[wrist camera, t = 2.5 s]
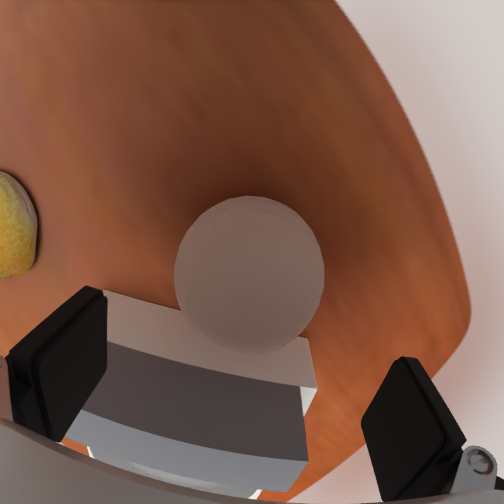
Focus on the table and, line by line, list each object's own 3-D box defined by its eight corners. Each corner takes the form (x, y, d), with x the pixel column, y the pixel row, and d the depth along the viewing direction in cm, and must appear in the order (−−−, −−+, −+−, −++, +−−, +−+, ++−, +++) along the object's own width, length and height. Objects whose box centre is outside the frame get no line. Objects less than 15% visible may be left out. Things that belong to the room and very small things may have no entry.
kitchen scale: (103, 289, 20) (19, 380, 11) (307, 338, 21) (330, 462, 11) (111, 437, 26) (77, 515, 16) (250, 470, 26) (245, 557, 17)
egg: (231, 163, 17) (198, 182, 9) (332, 224, 18) (387, 294, 10) (177, 260, 19) (118, 348, 11) (271, 312, 20) (275, 422, 11)
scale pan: (83, 383, 17) (78, 391, 16) (282, 433, 17) (283, 443, 16) (101, 475, 21) (98, 482, 20) (240, 510, 21) (240, 517, 20)
